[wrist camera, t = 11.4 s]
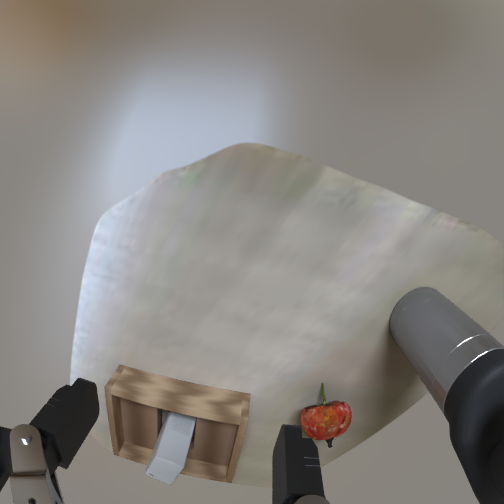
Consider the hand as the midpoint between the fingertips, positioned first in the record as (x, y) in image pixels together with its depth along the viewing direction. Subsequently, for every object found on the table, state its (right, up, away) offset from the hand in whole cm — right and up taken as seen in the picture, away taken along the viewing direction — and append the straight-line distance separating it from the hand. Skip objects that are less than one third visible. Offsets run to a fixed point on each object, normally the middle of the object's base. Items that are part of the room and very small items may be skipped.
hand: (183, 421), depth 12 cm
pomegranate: (+13, -16, +32) cm, 38 cm away
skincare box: (-9, -19, +34) cm, 40 cm away
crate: (-9, -19, +34) cm, 40 cm away
